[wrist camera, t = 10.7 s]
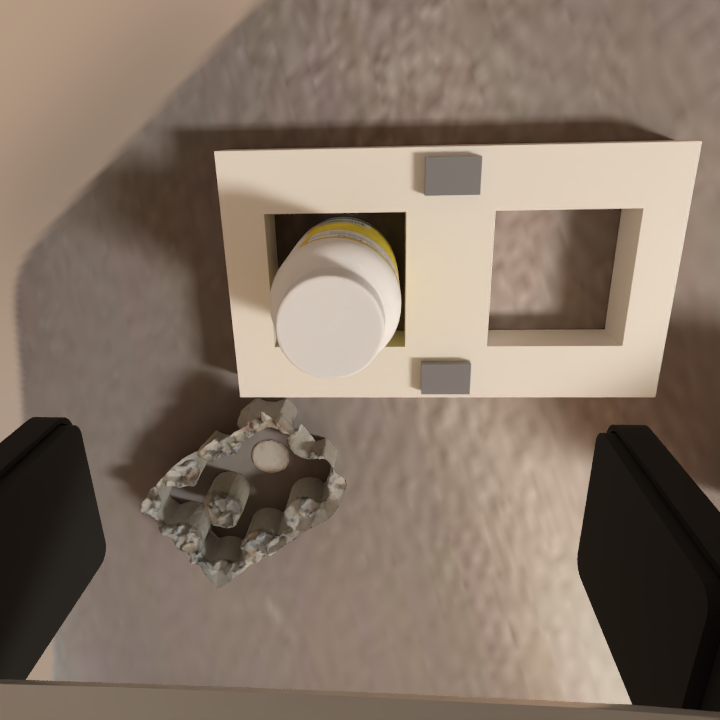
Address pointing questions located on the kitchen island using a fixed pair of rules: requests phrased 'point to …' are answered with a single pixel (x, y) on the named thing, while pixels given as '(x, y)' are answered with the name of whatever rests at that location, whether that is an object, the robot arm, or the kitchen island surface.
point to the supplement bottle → (336, 298)
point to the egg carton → (244, 495)
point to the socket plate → (465, 261)
